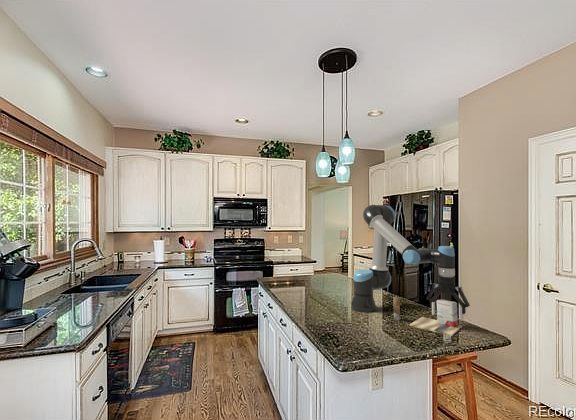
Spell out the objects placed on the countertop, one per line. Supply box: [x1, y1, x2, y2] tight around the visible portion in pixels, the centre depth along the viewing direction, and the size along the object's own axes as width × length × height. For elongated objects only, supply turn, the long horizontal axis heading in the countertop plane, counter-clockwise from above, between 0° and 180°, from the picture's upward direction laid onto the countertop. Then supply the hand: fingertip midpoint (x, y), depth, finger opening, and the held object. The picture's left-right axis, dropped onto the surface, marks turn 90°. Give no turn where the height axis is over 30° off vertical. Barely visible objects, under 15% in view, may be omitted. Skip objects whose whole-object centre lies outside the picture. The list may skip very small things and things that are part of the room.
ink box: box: [436, 298, 459, 327], centre depth 157 cm, size 9×5×12 cm, turn 34°
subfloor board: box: [409, 316, 463, 337], centre depth 156 cm, size 20×17×1 cm
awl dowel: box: [392, 296, 401, 321], centre depth 166 cm, size 3×3×12 cm
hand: (447, 317), depth 157 cm, fingers open, 13 cm apart
